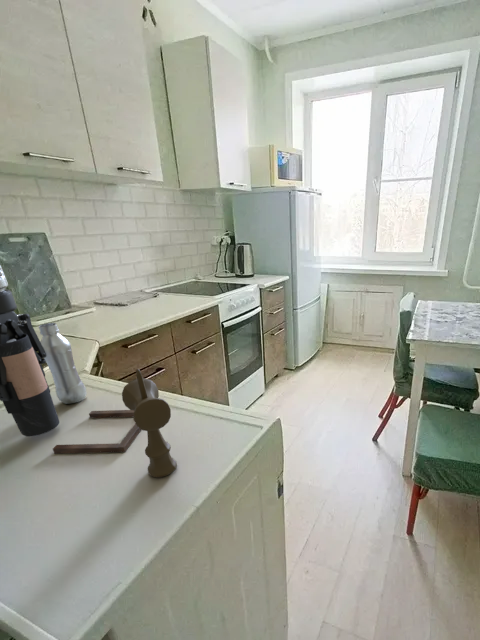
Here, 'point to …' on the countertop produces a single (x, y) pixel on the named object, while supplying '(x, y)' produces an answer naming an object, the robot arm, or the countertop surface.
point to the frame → (103, 447)
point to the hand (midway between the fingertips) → (30, 402)
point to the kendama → (150, 422)
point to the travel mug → (29, 388)
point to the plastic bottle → (61, 365)
